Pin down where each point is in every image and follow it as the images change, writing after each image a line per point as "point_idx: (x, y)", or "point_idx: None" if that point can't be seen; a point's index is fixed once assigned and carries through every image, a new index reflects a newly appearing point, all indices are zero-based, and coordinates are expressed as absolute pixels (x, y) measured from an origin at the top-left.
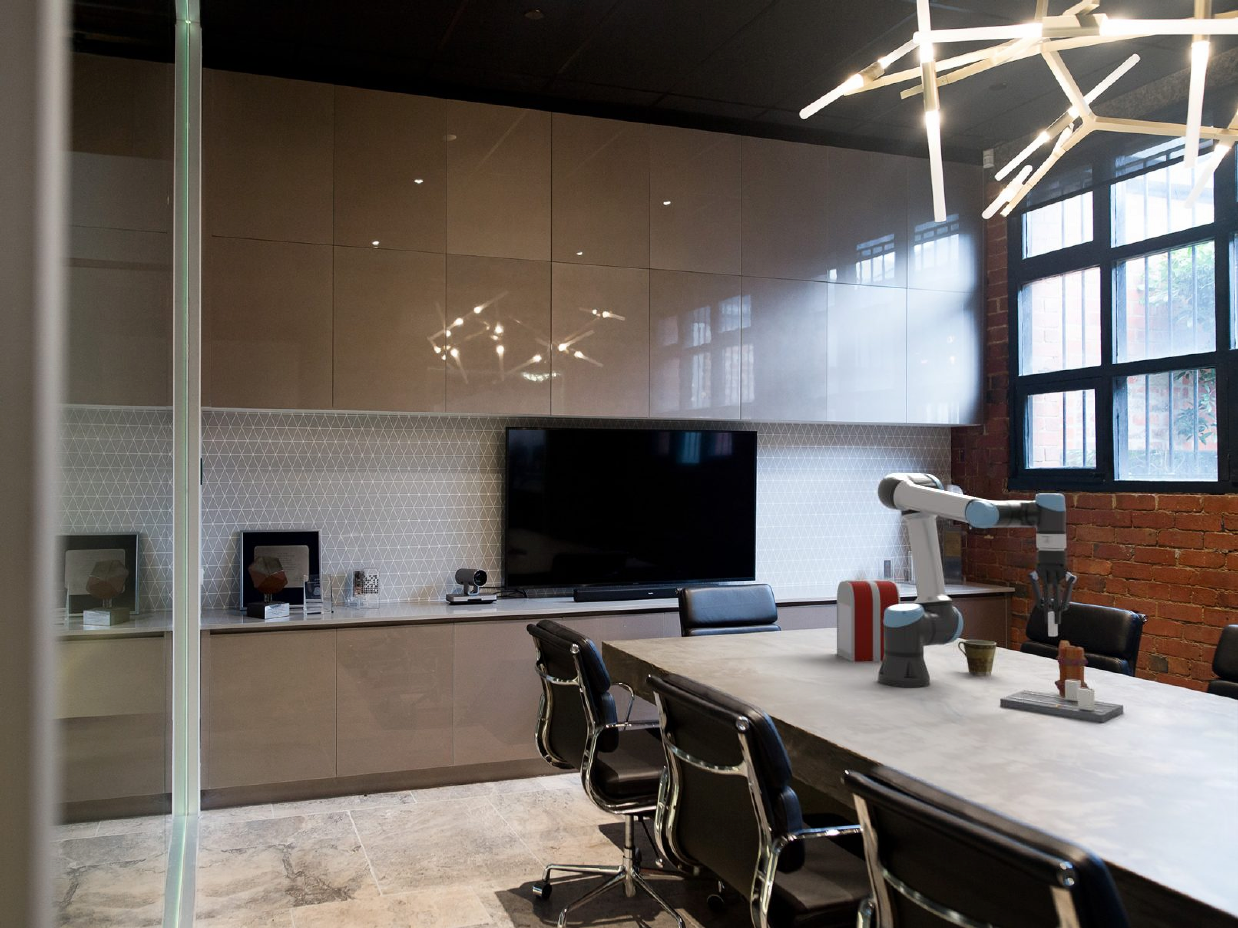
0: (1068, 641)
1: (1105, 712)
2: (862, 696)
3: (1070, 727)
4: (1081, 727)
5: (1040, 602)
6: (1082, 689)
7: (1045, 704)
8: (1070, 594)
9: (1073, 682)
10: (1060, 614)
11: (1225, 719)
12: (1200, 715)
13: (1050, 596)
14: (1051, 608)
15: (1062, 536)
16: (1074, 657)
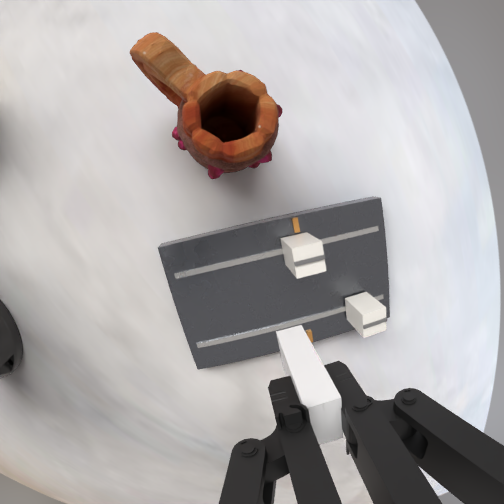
0: (169, 41)
1: (386, 293)
2: (67, 447)
3: (360, 376)
4: (371, 363)
5: (273, 500)
6: (371, 333)
7: None
8: (487, 450)
9: (317, 272)
10: (362, 393)
11: (464, 106)
12: (440, 103)
13: (338, 502)
14: (311, 425)
15: None
16: (260, 149)
